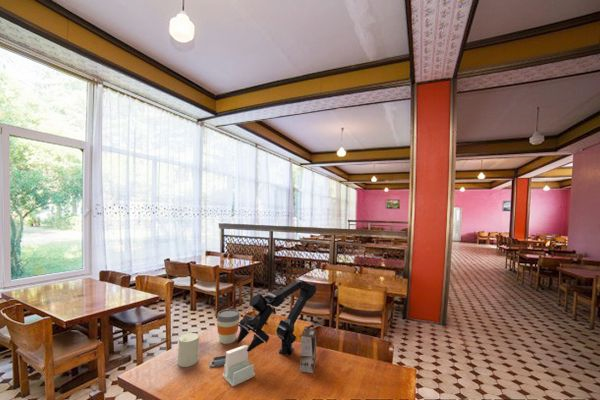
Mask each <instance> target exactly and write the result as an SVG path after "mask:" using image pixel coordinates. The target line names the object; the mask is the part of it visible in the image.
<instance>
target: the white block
mask: <svg viewBox="0 0 600 400" xmlns="http://www.w3.org/2000/svg"><path fill="white" fill-rule="evenodd" d="M248 347H249V345H247V344H243V345H241V346H238V347H235V348H232V349H230V350H228V351H227V350H226V352H225V355H226V363H225V375H226V377H228V373H229V368H231V367H234V366H236V365H238V364H241V363H243V362H245V361H248V359H249V358H248V357H249V352H248V351H247V349H248Z"/></svg>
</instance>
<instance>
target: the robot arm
mask: <svg viewBox="0 0 600 400" xmlns="http://www.w3.org/2000/svg"><path fill="white" fill-rule="evenodd" d="M298 290H299V296H298V298H297V300H296V302H295V303H294V305H293V306H292V309H291V311H290V312H289V314H288V316H287V318H285V319H280V322H279V323H278V325H277V326H276V330H275V331H276V335H277V337H278V339H280V340H281V341H280V343H281V346H280V350H279V352H278V353H279V354H281V355H287V356H291V355H292V354H293V352H294V350H295V348H294V347H293V343H294V342H296V340H297V336H296V335H295V334H294V331H295V323H296V321H297V320H298V318H299V316H300V315H301V313H302V311H303V309H304V307H305V305H306V303H307V302H308V300H310V299H312V298H313V297H314V295H315V294H316V292H317V286H316V285H315V284H313V283H310V282H306V281H304V280H302V279H299V278H298V279H295V280H294V281H293V282H292V283H289V284H287V285H286V286H285V287H283V288H281V289H278V290H273V291H271V292H269V293H268V294H267V295H265V296H263V295H262V294H261V293H259V292H258V293H257V294H256V295H255V294H254V295H253V296H252V297H251V298H250V300H249V303H248V304H249V306H250V307H252V308H253V309H254V310H255V311H256V312H257V313H255V314H253V315H249V314H244V315H243V318H242V319H240V320H239V325H238V327H239V329H240V331H239V334H238V337H237V340H236V344H237V345H239V344H240V343H241V342H242V341H244V339H245V338H246V337H247V336H248V335H249V334H250V331H251V332H252V333H253V339H252V340H251V342H250V344H249V345H248V349H247V351H248V353H249V352H251V351H252V350H254V349H256V348H257V347H258V346H260V345H262V344H267V343H268V341H269V340H270V335H269V334H267V333H266V332H265V331H264V330H263V328H264V326H265V325H266V326H267V325H268V320H269V318H270V316H272V314H274V315H276V313H277V311H276V308H277V307H280V306H281V305H282V304H283V303H284V302H285V299H287V298H288V297H289V296H291V295H293V294H294V293H295V292H298Z"/></svg>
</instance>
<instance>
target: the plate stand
mask: <svg viewBox="0 0 600 400" xmlns="http://www.w3.org/2000/svg"><path fill="white" fill-rule="evenodd" d="M208 363H209V364H208V365H209V369H210V368H215V367H216V368H217V367H221V366H224V364H225V363H226V354H224V355H216V356H214V357H213V360H211V359H209V361H208Z"/></svg>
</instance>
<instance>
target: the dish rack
mask: <svg viewBox="0 0 600 400" xmlns="http://www.w3.org/2000/svg"><path fill="white" fill-rule="evenodd" d="M255 376H256V373H255V364H254V363H252V364H251V365H250V360H248V361H245V362H243V363H241V364H238V365H236V366H234V367H231V368H229V373H228V377H226V375H225V364H224V365H223V373H222V378H223V379H225V380H226V381H227V382H228V384H230V385H231V387H235V386H237V385H239V384H241V383H243V382H245V381H247V380H249V379H251V378H253V377H255Z"/></svg>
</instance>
